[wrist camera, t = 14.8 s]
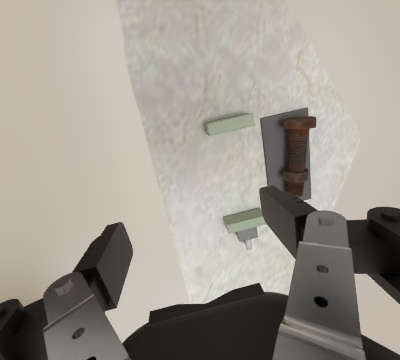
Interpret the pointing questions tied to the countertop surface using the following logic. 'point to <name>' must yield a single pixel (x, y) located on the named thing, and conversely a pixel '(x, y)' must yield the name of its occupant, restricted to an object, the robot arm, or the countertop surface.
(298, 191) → the bolt
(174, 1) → the countertop surface
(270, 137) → the mat
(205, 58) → the countertop surface
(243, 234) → the rails
